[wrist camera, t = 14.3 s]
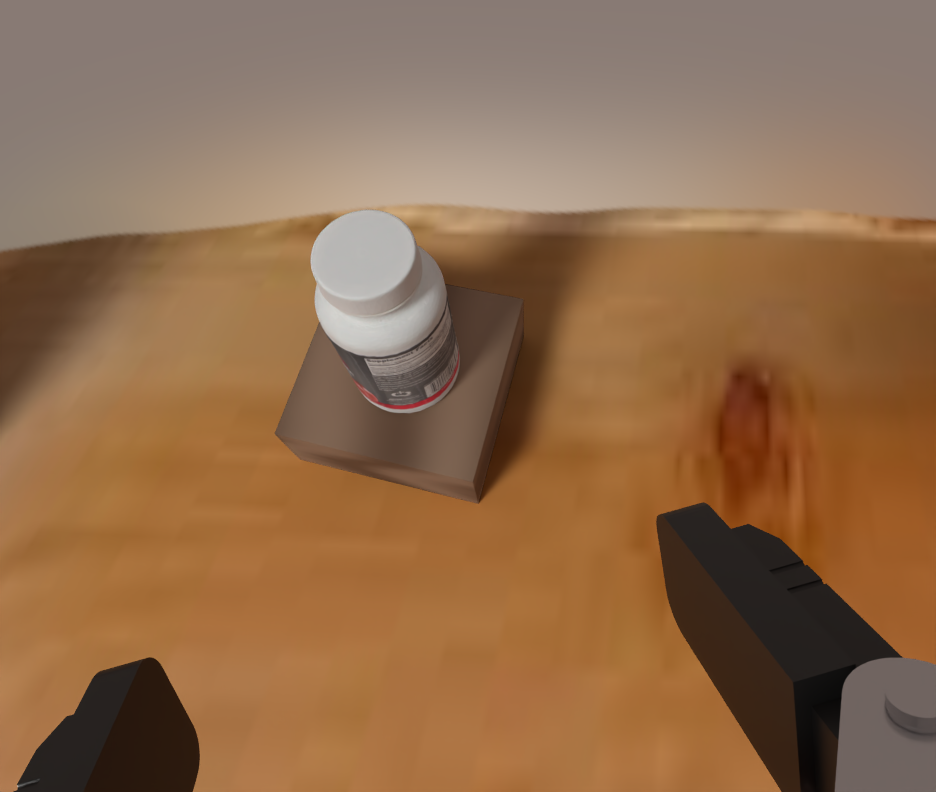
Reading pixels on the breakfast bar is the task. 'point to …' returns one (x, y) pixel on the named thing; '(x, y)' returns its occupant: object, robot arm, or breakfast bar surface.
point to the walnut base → (419, 433)
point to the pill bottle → (385, 310)
